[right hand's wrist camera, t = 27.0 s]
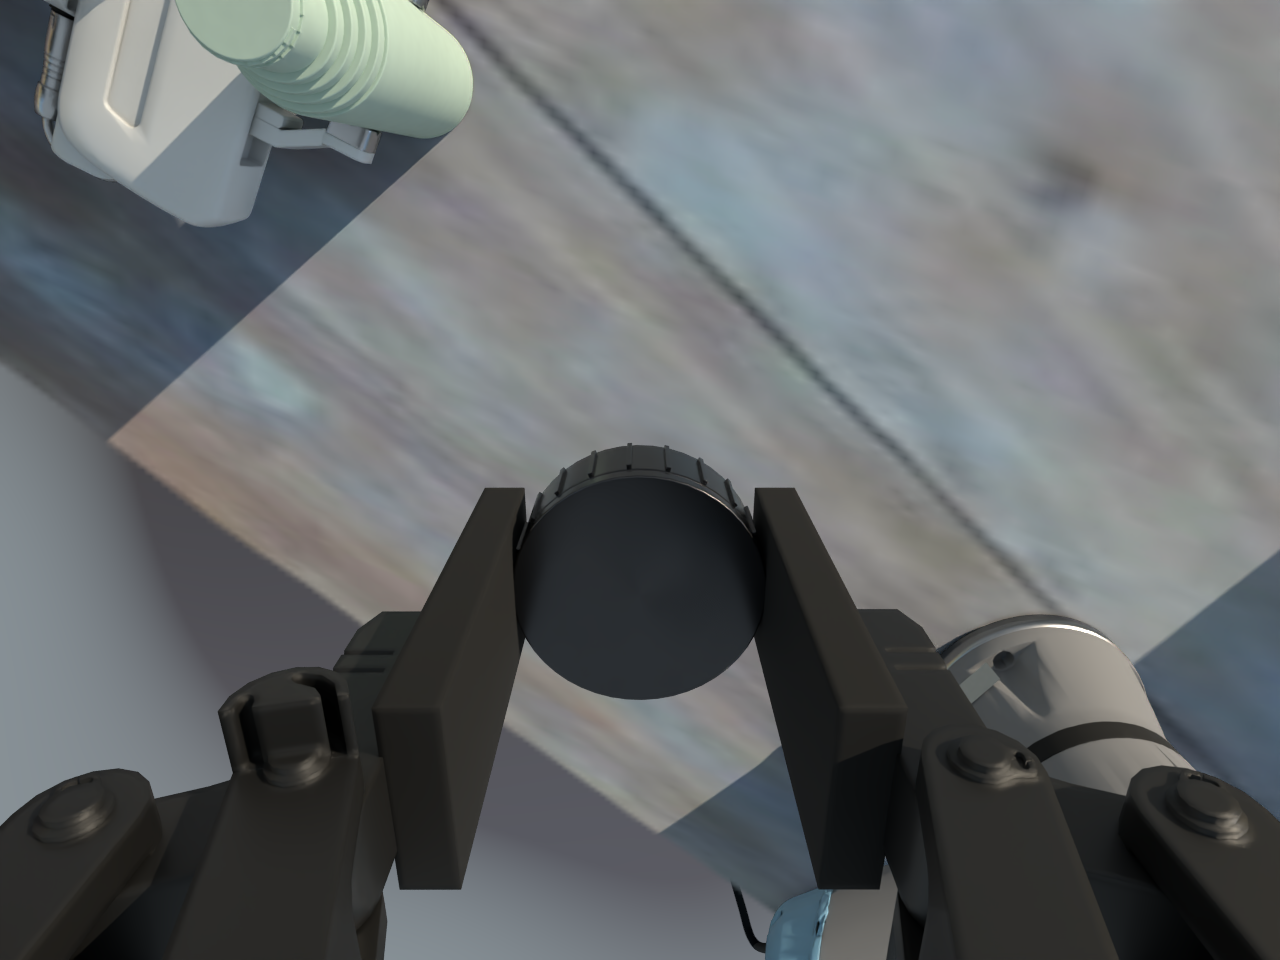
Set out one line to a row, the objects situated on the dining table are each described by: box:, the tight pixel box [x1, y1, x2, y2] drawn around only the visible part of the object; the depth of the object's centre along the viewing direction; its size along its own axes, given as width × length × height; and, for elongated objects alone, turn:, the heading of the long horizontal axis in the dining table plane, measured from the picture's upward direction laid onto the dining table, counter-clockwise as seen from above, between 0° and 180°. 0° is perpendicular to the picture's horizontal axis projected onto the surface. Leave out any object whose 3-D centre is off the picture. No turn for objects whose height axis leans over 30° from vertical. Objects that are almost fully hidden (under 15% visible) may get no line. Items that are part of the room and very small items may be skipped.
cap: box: [513, 443, 766, 700], centre depth 14 cm, size 5×5×2 cm
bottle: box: [175, 0, 473, 139], centre depth 30 cm, size 6×6×19 cm
